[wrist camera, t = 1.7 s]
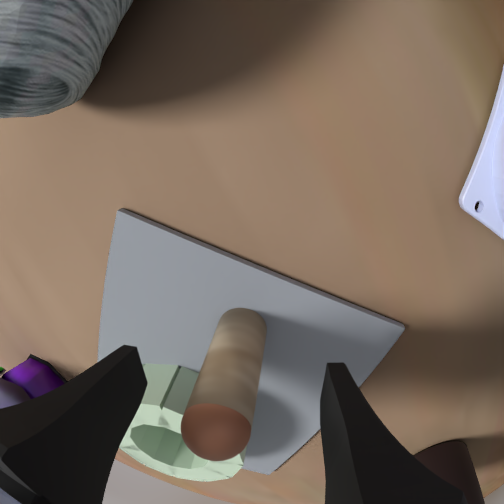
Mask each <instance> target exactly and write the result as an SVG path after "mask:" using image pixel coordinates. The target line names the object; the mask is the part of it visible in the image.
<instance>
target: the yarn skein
mask: <svg viewBox="0 0 504 504" xmlns="http://www.w3.org/2000/svg"><path fill="white" fill-rule="evenodd" d="M132 2H133V0H0V118H10V117H34V116H39V115H44V114H49V113H51V112H54V111H56V110H59V109H61V108H64V107H67V106H69V105H72V104H73V103H75V102H76V101H78V100H79V99H81V98H82V96H83V95H84V93H85V91H86V90H87V88H88V87H89V85H90V84H91V82H92V81H93V79H94V77H95V76H96V74H97V73H98V71H99V70H100V65H101V60H102V57H103V55H104V53H105V51H106V49H107V47H108V45H109V44H110V42H111V40H112V39H113V37H114V35H115V33H116V31H117V28H118V26H119V24H120V21H121V20H122V18H123V17H124V15H125V14H126V12H127V10H128V9H129V8H130V6H131V4H132Z"/></svg>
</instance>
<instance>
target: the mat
mask: <svg viewBox="0 0 504 504" xmlns="http://www.w3.org/2000/svg"><path fill="white" fill-rule="evenodd" d="M233 308H247V309H250V310H253V311H255V312H257V313H258V314H259V315H260V316H261V317H262V318H263V319H264V321H265V323H266V326H267V333H266V340H265V347H264V354H263V360H262V367H261V374H260V380H259V387H258V393H257V399H256V406H255V412H254V418H253V424H252V430H251V436H250V439H249V442H248V444H247V448H246V454H245V459H244V465H243V467H242V468H243V469H247V470H250V471H254V472H258V473H263V474H267V475H269V474H271V473H272V472H273V471H274V470H276V469H277V468H278V467H279V466H280V465H281V464H283V463H284V462H285V461H286V460H287V459H288V458H289V457H291V456H292V455H293V454H294V453H295V452H296V451H297V450H298V449H299V448H301V447H302V446H303V445H304V444H305V443H306V442H307V441H308V440H309V439H310V438H311V437H312V436H313V435H314V434H315V433H316V432H317V431H318V430H319V429H320V397H321V392H322V387H323V382H324V376H325V371H326V365H327V363H339V362H344V363H345V364H346V366H347V368H348V370H349V372H350V374H351V375H352V377H353V379H354V381H355V383H356V384H357V386H358V388H359V387H360V385H361V384H362V383H363V382H364V381H365V380H366V378H367V377H368V376H369V375H370V374H371V372H372V371H373V370H374V369H375V368H376V366H377V365H378V364H379V363H380V361H381V360H382V359H383V358H384V356H385V355H386V354H387V353H388V351H389V350H390V349H391V347H392V346H393V345H394V343H395V342H396V341H397V339H398V338H399V337H400V335H401V334H402V332H403V331H404V330H405V327H404V325H403V324H402V323H399V322H397V321H394V320H392V319H389V318H387V317H384V316H382V315H379V314H377V313H374V312H372V311H369V310H367V309H364V308H362V307H359V306H357V305H354V304H352V303H349V302H347V301H344V300H342V299H340V298H337V297H335V296H332V295H330V294H327V293H325V292H322V291H320V290H317V289H315V288H312V287H310V286H308V285H305V284H303V283H300V282H298V281H295V280H293V279H290V278H288V277H286V276H283V275H281V274H278V273H276V272H273V271H271V270H268V269H266V268H264V267H261V266H259V265H256V264H254V263H252V262H249V261H247V260H244V259H242V258H239V257H237V256H235V255H232V254H230V253H227V252H225V251H223V250H220V249H218V248H215V247H213V246H211V245H208V244H206V243H203V242H201V241H199V240H196V239H194V238H192V237H189V236H187V235H184V234H182V233H180V232H177V231H175V230H172V229H170V228H168V227H165V226H163V225H161V224H158V223H156V222H154V221H151V220H149V219H146V218H144V217H142V216H139V215H137V214H135V213H132V212H130V211H128V210H125V209H123V208H121V209H119V210H117V215H116V220H115V225H114V230H113V235H112V240H111V246H110V252H109V258H108V264H107V270H106V277H105V285H104V292H103V301H102V310H101V320H100V331H99V345H98V362H99V361H100V360H102V359H103V358H105V357H106V356H108V355H109V354H110V353H112V352H113V351H115V350H116V349H118V348H119V347H121V346H123V345H129V346H135V347H137V349H138V352H139V356H140V359H141V363H142V364H144V365H145V364H146V363H148V364H164V365H178V366H179V368H181V366H183V367H185V368H188V369H190V370H192V371H195V372H197V373H199V372H200V370H201V367H202V364H203V362H204V359H205V357H206V354H207V351H208V349H209V346H210V344H211V341H212V338H213V336H214V333H215V331H216V328H217V325H218V323H219V320H220V318H221V316H222V315H223V314H224V313H225V312H226V311H228V310H230V309H233Z"/></svg>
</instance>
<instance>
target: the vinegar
mask: <svg viewBox="0 0 504 504" xmlns="http://www.w3.org/2000/svg"><path fill="white" fill-rule="evenodd" d="M414 457H415V458H416V459H417V460H419V461H420V462H421V463H422V464H423V465H424V466H426V467H427V468H428V469H429V470H431V471H432V472H433V473H435V474H436V475H437V476H439V477H440V478H442V479H443V480H445V481H446V482H448V483H450V484H452V485H453V486H455V487H457V488H458V489H460V490H462V491H463V492H464V495H465V498H466V500H467V503H468V504H485V503H484V499H483V495H482V492H481V488H480V485H479V482H478V478H477V475H476V472H475V469H474V466H473V463H472V460H471V457H470V454H469V451H468V449H467V446H466V444H464V443H462V442H460V441H450V442H445V443H441V444H438V445H435V446H432V447H430V448H428V449H425V450H423V451H421V452H419V453H417V454H416V455H414Z"/></svg>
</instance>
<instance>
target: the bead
mask: <svg viewBox="0 0 504 504" xmlns="http://www.w3.org/2000/svg"><path fill="white" fill-rule="evenodd" d="M142 366H143V369H144V372H145V376H146V379H147V382H148V384H147V387H146V390H145V394H144V396H143V399H142V402H141V404H140V407H139V409H138V411H137V412H136V414H135V416H134V418H133V420H132V422H131V424H130V426H129V428H128V430H127V432H126V434H125V436H124V438H123V440H122V442H121V444H120V446H119V448H120V449H121V450H123V451H124V452H126V453H127V454H128V455H130V456H131V457H133V458H134V459H136V460H137V461H138V462H140V463H141V464H145V466H147V467H150V468H152V469H155V470H157V471H159V472H162V473H165V474H167V475H170V476H172V477H173V476H175V477H176V478H182V479H188V480H195V481H203V482H204V481H206V482H209V481H215V480H222V479H228V478H230V477H233V476H234V475H235V474H236V473H237V472H238V471H239V470H240V469H241V468H242V467H243V465H244V459H245V454H246V448H247V446H246V447H245V449H244V450H243V451H242V452H241V453H240V454H238V455H237V456H235V457H233V458H231V459H228V460H224V461H210V460H206V459H203V458H201V457H199V456H197V455H195V454H194V453H193V452H192V451H191V450H190V449H189V448H188V447H187V446H186V444H185V443H184V441H183V438H182V435H181V421H182V417H183V415H184V412H185V409H186V406H187V404H188V401H189V398H190V396H191V393H192V391H193V388H194V385H195V383H196V380H197V377H198V375H199V373H197V372H195V371H192V370H190V369H188V368H185V367H183V366H181V368H179V366H178V365H164V364H148V363H146V364H145V365H144V364H142Z"/></svg>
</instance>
